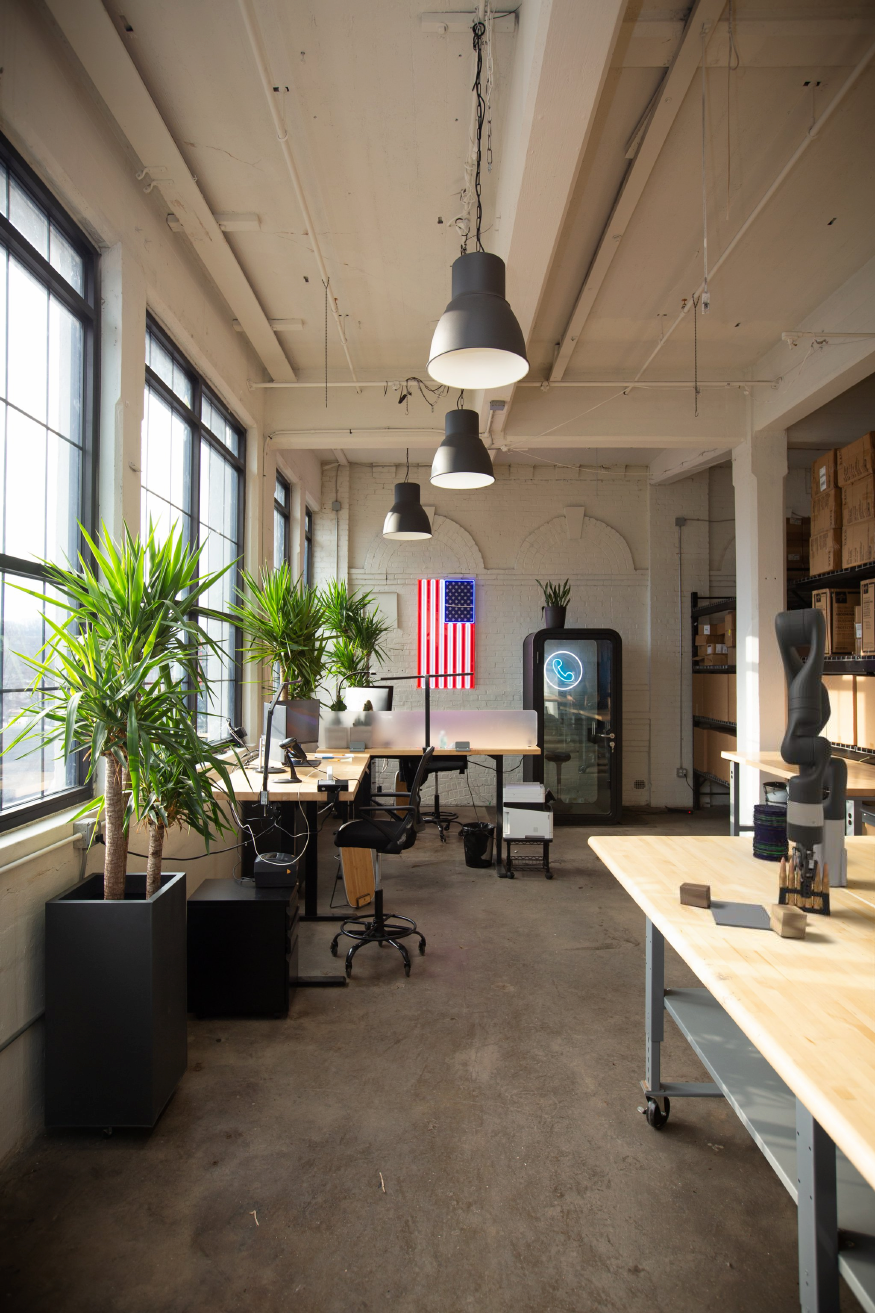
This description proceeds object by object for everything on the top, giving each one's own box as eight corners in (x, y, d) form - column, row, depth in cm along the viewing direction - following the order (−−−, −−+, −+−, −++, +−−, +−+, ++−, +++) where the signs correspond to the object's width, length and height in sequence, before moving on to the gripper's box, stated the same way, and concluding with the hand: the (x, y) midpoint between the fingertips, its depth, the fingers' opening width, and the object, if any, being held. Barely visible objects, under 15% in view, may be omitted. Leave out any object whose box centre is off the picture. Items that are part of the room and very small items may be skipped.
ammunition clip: (829, 913, 163) (830, 861, 163) (830, 916, 161) (831, 863, 161) (778, 906, 167) (778, 855, 167) (778, 908, 165) (779, 857, 166)
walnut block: (685, 899, 171) (684, 882, 171) (710, 902, 167) (710, 885, 168) (680, 903, 167) (679, 886, 168) (706, 907, 164) (705, 890, 164)
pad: (761, 906, 167) (761, 905, 167) (775, 931, 151) (776, 929, 151) (707, 901, 170) (707, 899, 170) (716, 924, 154) (716, 922, 154)
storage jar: (745, 855, 214) (745, 805, 214) (768, 852, 218) (768, 803, 218) (773, 863, 204) (773, 811, 205) (796, 860, 209) (797, 809, 209)
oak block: (792, 929, 152) (795, 906, 152) (804, 938, 147) (807, 914, 147) (769, 926, 152) (772, 903, 152) (780, 936, 147) (783, 912, 147)
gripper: (831, 829, 157) (830, 907, 157) (814, 816, 170) (813, 888, 170) (794, 826, 159) (793, 903, 158) (780, 814, 172) (779, 885, 172)
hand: (803, 895), depth 164 cm, fingers closed
